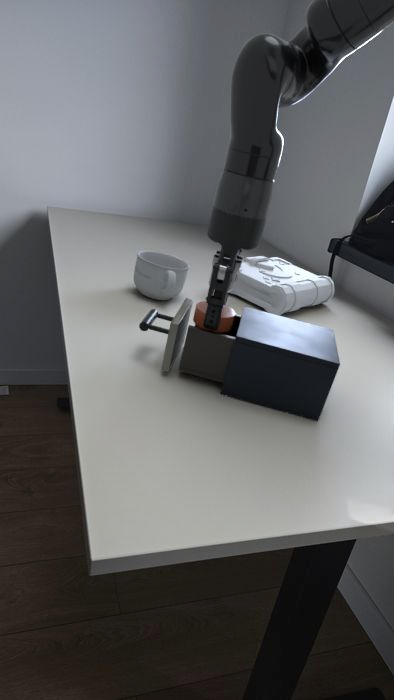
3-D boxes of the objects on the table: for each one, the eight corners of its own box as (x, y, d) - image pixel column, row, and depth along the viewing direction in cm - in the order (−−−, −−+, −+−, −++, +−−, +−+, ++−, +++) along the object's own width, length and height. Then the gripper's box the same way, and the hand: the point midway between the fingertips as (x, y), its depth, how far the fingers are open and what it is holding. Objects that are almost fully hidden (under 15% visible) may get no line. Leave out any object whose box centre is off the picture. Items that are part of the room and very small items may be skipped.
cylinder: (233, 321, 77) (237, 307, 76) (229, 336, 72) (233, 321, 71) (196, 312, 78) (199, 297, 76) (189, 325, 72) (192, 310, 71)
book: (339, 303, 124) (350, 275, 121) (279, 321, 104) (289, 287, 101) (277, 276, 135) (286, 249, 131) (212, 287, 115) (219, 255, 111)
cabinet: (220, 394, 72) (236, 336, 68) (230, 358, 83) (244, 306, 79) (318, 421, 71) (340, 364, 67) (314, 381, 82) (333, 329, 78)
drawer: (128, 361, 73) (136, 313, 70) (149, 332, 83) (156, 290, 80) (249, 394, 72) (263, 347, 69) (254, 361, 82) (267, 319, 79)
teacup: (131, 281, 107) (137, 245, 103) (180, 289, 109) (187, 254, 105) (130, 306, 94) (136, 266, 91) (185, 315, 96) (194, 276, 93)
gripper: (264, 224, 60) (232, 345, 68) (269, 207, 73) (242, 310, 81) (205, 209, 61) (179, 331, 68) (220, 195, 74) (197, 299, 81)
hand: (213, 319), depth 74 cm, fingers closed on cylinder, 6 cm apart
